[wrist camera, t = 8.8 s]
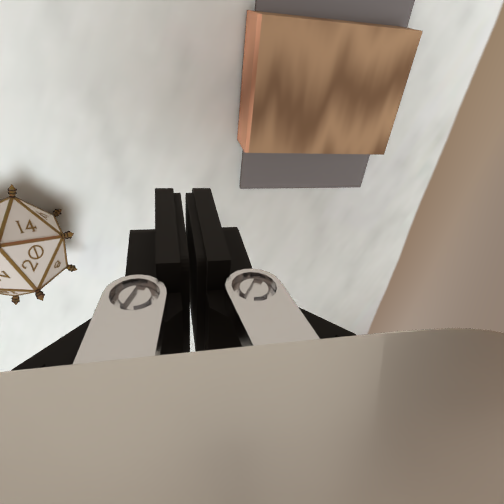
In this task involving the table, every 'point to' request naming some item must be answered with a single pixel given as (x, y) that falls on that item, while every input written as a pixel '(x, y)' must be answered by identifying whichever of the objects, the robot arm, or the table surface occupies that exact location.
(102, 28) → the table surface
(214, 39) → the table surface
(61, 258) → the game die
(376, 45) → the walnut slab
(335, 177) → the mat
